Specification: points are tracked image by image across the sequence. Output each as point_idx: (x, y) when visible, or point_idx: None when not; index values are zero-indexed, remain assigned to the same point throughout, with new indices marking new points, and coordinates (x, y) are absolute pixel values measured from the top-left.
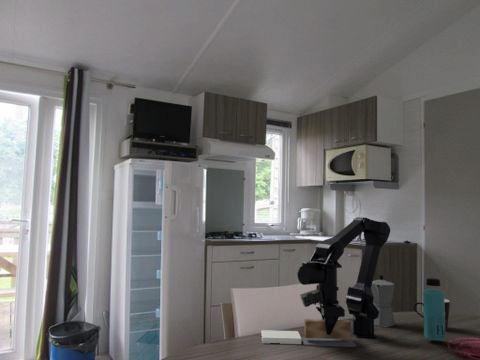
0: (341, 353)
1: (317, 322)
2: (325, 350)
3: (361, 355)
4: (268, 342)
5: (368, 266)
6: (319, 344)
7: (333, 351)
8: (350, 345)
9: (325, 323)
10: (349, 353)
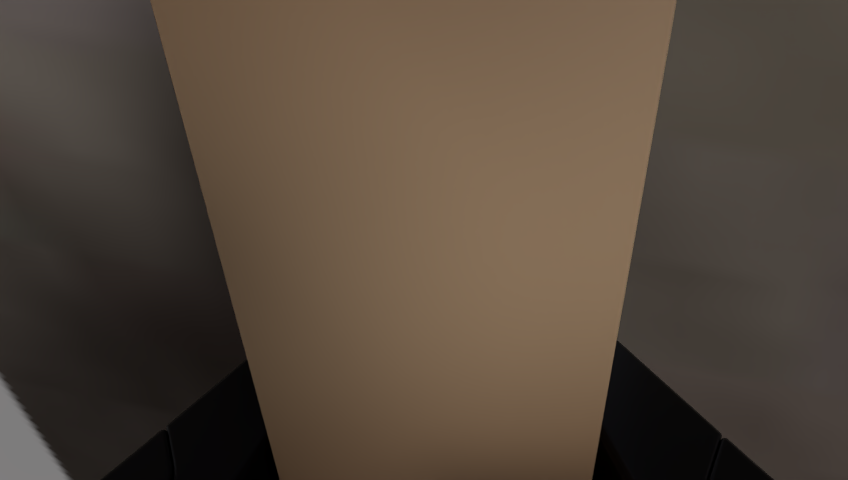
0: (15, 297)
1: (228, 222)
2: (41, 118)
3: (51, 453)
4: None
5: None
6: None
7: (49, 221)
8: None
9: (188, 448)
10: (61, 373)
